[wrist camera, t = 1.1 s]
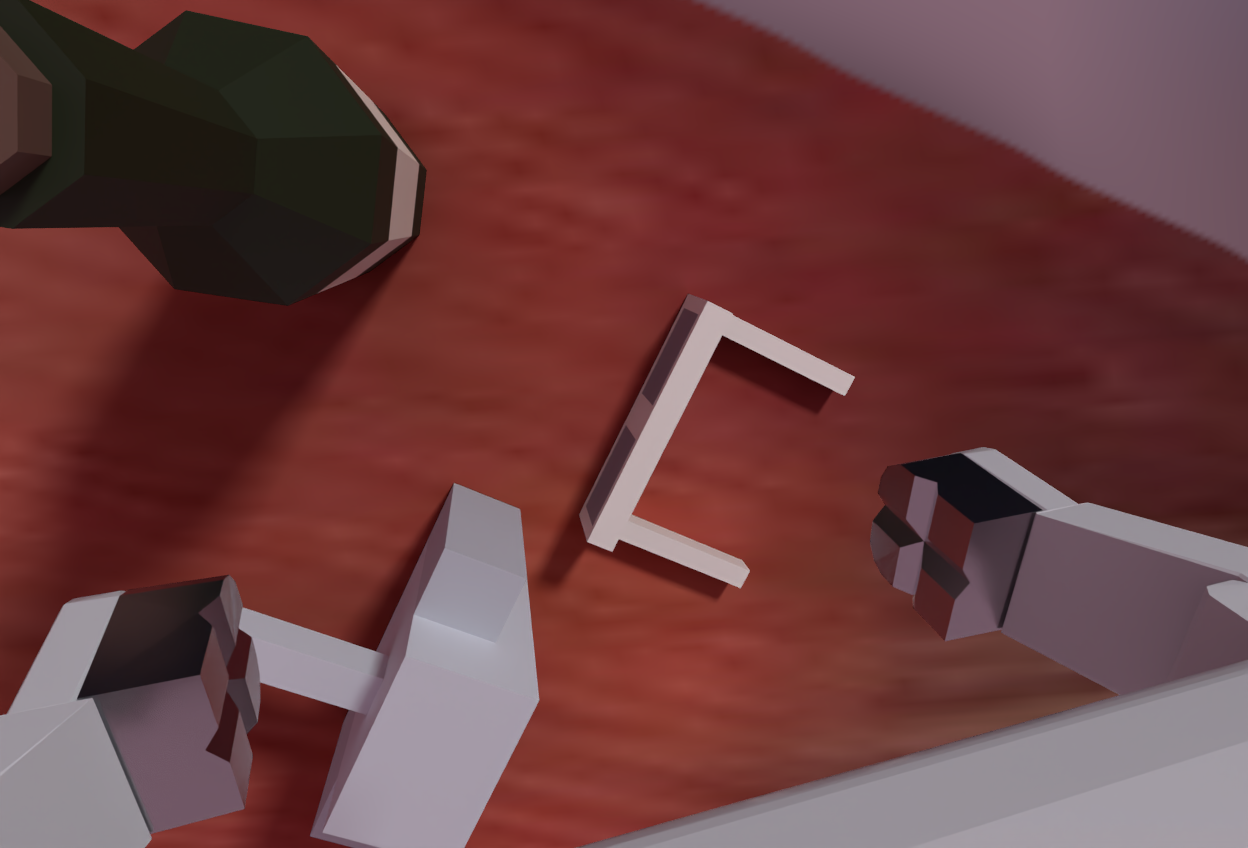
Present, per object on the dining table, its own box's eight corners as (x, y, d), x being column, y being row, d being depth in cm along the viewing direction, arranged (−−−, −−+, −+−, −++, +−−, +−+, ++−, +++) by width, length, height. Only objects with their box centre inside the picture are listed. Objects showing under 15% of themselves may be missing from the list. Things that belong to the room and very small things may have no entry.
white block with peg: (552, 522, 45) (574, 631, 33) (440, 749, 47) (423, 928, 35) (330, 433, 41) (265, 519, 29) (223, 683, 44) (122, 856, 32)
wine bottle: (449, 252, 40) (344, 333, 11) (287, 290, 39) (-261, 478, 11) (401, 81, 38) (120, -353, 9) (228, 118, 37) (-679, -235, 8)
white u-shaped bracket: (843, 372, 45) (875, 386, 42) (733, 577, 48) (754, 608, 44) (688, 293, 43) (707, 300, 39) (578, 514, 45) (586, 541, 41)
